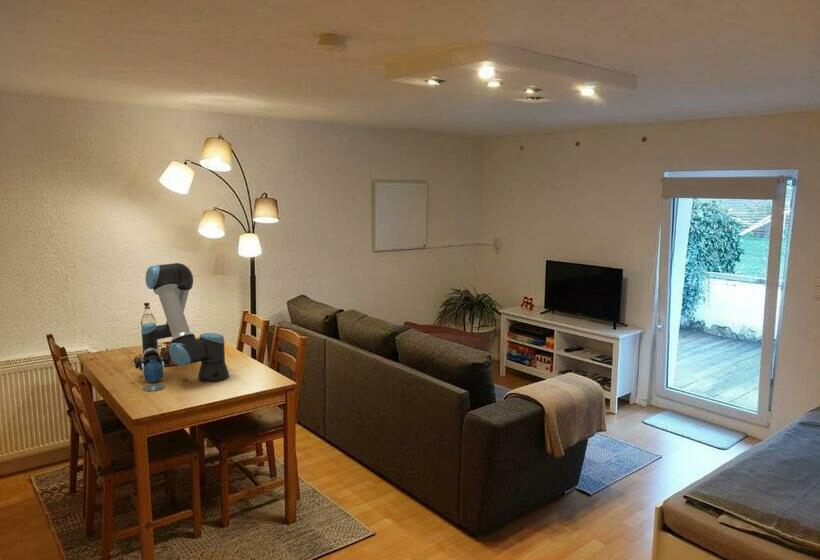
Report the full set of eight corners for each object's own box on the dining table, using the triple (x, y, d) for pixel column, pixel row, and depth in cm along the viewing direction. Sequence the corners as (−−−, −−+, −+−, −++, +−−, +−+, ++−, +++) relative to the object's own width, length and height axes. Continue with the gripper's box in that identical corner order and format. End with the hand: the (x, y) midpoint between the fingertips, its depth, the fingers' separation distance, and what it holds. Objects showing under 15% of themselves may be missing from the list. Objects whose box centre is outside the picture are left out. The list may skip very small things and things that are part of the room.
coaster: (169, 386, 291) (169, 385, 291) (154, 393, 282) (154, 391, 282) (152, 383, 295) (152, 382, 294) (137, 390, 285) (137, 389, 285)
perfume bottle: (155, 381, 294) (154, 358, 292) (144, 380, 295) (143, 357, 294) (163, 377, 300) (161, 355, 298) (152, 377, 301) (150, 354, 300)
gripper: (173, 360, 318) (176, 372, 298) (129, 365, 309) (130, 378, 289) (172, 347, 317) (176, 358, 297) (128, 352, 307) (129, 363, 287)
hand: (153, 368), depth 293 cm, fingers closed on perfume bottle, 9 cm apart
